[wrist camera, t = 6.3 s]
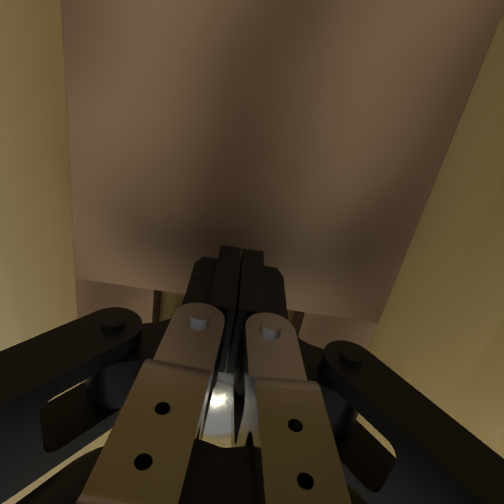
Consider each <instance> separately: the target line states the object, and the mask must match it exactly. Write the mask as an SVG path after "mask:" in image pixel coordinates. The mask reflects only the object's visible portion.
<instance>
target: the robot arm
mask: <svg viewBox="0 0 504 504" xmlns="http://www.w3.org/2000/svg"><path fill="white" fill-rule="evenodd" d="M240 257H241V260H240ZM228 350H229V352H228ZM227 355H228V363H227V373H230V374H234V383H233V388H232V393H231V448H222V447H218V446H216V445H213V444H210V443H208V442H205V441H203V440H202V438H203V434H204V429H205V425H206V421H207V416H208V412H209V408H210V403H211V399H212V394H213V389H214V387H215V386H216V384H217V379H218V373H219V372H222V373H224V371H225V366H226V360H227ZM85 379H86V382H84V383H82V384H80V385H78V386H77V387H75V388H73V389H71V390H69V391H68V392H66V393H64V394H62V395H60V396H59V397H57V398H55V399H53V400H51V401H50V402H48V401H49V400H50V399H52V398H53V397H55V396H56V395H58V394H60V393H62V392H64V391H65V390H67V389H69V388H71V387H73V386H75V385H76V384H78V383H80V382H82V381H84V380H85ZM47 402H48V403H47ZM359 413H360V414H361V415H362V416H363V417H364V418H365V419H366V420H367V421H368V422H369V423H370V424H371V425H372V426H373V427H374V428H375V429H376V430H378V431H379V432H380V433H381V434H382V435H383V436H384V437H385V438H386V439H387V440H388V441H389V442H390V443H391V445H392V446H393V448H394V450H395V453H396V458H395V457H394V456H393V455H392V454H391V453H390V452H389V451H388V450H387V449H386V448H385V447H384V446H383V445H382V444H381V443H380V442H379V441H378V440H377V439H376V438H375V437H374V436H372V435H371V434H370V433H369V432H368V431H367V430H366V429H365V428H364V427H363V426H362V425H361V424H360V423H359V422H358V421H357V420H356V418H357V416H358V414H359ZM111 428H112V430H111V432H110V434H109V436H108V438H107V440H106V443H105V445H104V446H103V447H100V448H97V449H95V450H93V451H91V452H88V453H86V454H84V455H83V456H81V457H79V458H78V459H76V460H74V461H73V462H71V463H70V464H68V465H67V466H66V467H64V468H63V469H62V470H60V471H59V472H58V473H56V474H55V475H53V476H52V477H51V478H49V479H48V480H47V481H45V482H44V483H43V484H41V485H40V486H39V487H37V488H36V489H35V490H33V491H32V492H30V493H29V494H28V495H26V496H25V497H24V498H22V499H21V500H20V501H18V502H17V503H16V504H504V459H503V458H502V457H501V456H499V455H498V454H497V453H496V452H494V451H493V450H492V449H491V448H489V447H488V446H487V445H486V444H484V443H483V442H482V441H481V440H479V439H478V438H477V437H476V436H474V435H473V434H472V433H471V432H469V431H468V430H467V429H466V428H464V427H463V426H462V425H460V424H459V423H458V422H457V421H455V420H454V419H453V418H452V417H450V416H449V415H448V414H447V413H445V412H444V411H443V410H442V409H440V408H439V407H438V406H437V405H435V404H434V403H433V402H432V401H430V400H429V399H428V398H427V397H425V396H424V395H423V394H422V393H420V392H419V391H418V390H417V389H415V388H414V387H413V386H412V385H410V384H409V383H408V382H406V381H405V380H404V379H403V378H401V377H400V376H399V375H398V374H396V373H395V372H394V371H393V370H391V369H390V368H389V367H388V366H386V365H385V364H384V363H383V362H381V361H380V360H379V359H378V358H376V357H375V356H374V355H373V354H371V353H370V352H369V351H368V350H366V349H365V348H363V347H362V346H360V345H358V344H356V343H353V342H350V341H345V340H336V341H332V342H330V343H328V344H327V345H326V347H325V349H321V348H319V347H316V346H314V345H311V344H309V343H306V342H305V341H303V340H301V339H300V338H298V337H297V335H296V331H295V328H294V326H293V325H292V324H291V323H290V322H289V321H288V314H287V304H286V295H285V287H284V277H283V275H282V274H281V273H280V271H279V270H278V269H277V268H276V267H270V266H264V251H258V250H252V249H245V248H243V250H242V255H241V248H238V247H232V246H226V245H220V250H219V255H218V258H211V257H205V256H203V257H201V258H200V259H199V260H198V261H196V262H195V263H194V267H193V270H192V273H191V277H190V281H189V283H188V287H187V290H186V294H185V297H184V300H183V304H182V306H180V307H179V308H177V309H176V310H175V312H174V314H173V316H172V318H170V319H167V320H165V321H160V322H153V323H142V320H141V318H140V316H139V315H138V314H137V313H135V312H134V311H132V310H130V309H126V308H121V307H110V308H104V309H100V310H98V311H95V312H93V313H90V314H88V315H86V316H83V317H81V318H79V319H76V320H74V321H71V322H69V323H67V324H64V325H62V326H60V327H57V328H55V329H52V330H50V331H48V332H45V333H43V334H41V335H38V336H36V337H33V338H31V339H29V340H26V341H24V342H22V343H19V344H17V345H14V346H12V347H10V348H7V349H5V350H3V351H0V504H2V503H3V502H5V501H6V500H8V499H9V498H11V497H12V496H14V495H15V494H16V493H18V492H19V491H21V490H22V489H24V488H25V487H27V486H28V485H30V484H31V483H32V482H34V481H35V480H37V479H38V478H40V477H41V476H43V475H44V474H46V473H47V472H49V471H50V470H51V469H53V468H54V467H56V466H57V465H59V464H60V463H62V462H63V461H65V460H66V459H68V458H69V457H70V456H72V455H73V454H75V453H76V452H78V451H79V450H81V449H82V448H84V447H85V446H86V445H88V444H89V443H91V442H92V441H94V440H95V439H97V438H98V437H100V436H101V435H103V434H104V433H105V432H107V431H108V430H110V429H111Z"/></svg>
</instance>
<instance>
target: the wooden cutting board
mask: <svg viewBox="0 0 504 504" xmlns="http://www.w3.org/2000/svg"><path fill="white" fill-rule="evenodd" d="M61 7H62V26H63V46H64V65H65V85H66V104H67V124H68V143H69V162H70V182H71V201H72V221H73V240H74V260H75V279H76V299H77V318H78V319H79V318H81V317H83V316H86V315H88V314H90V313H93V312H95V311H98V310H100V309H104V308H110V307H121V308H126V309H130V310H132V311H134V312H135V313H137V314H138V315H139V316H140V318H141V320H142V323H153V322H159V311H160V297H161V291H165V292H171V293H178V294H186V290H187V287H188V283H189V281H190V277H191V273H192V270H193V267H194V263H195V262H196V261H198V260H199V259H200V258H201V257H203V256H205V257H211V258H218V255H219V250H220V245H226V246H232V247H238V248H241V255H242V250H243V248H245V249H252V250H258V251H264V266H270V267H276V268H277V269H278V270H279V271H280V273H281V274H282V275H283V277H284V287H285V295H286V304H287V310H293V311H296V313H295V316H294V320H293V324H292V325H293V326H294V328H295V331H296V335H297V337H298V338H300V339H301V340H303V341H305V342H306V343H309V344H311V345H314V346H316V347H319V348H321V349H325V347H326V345H327V344H328V343H330V342H332V341H336V340H345V341H350V342H353V343H356V344H358V345H360V346H362V347H363V348H365V349H366V350H367V349H368V346H369V344H370V341H371V339H372V336H373V334H374V331H375V329H376V326H377V324H378V321H379V319H380V316H381V314H382V311H383V309H384V306H385V304H386V301H387V299H388V297H389V294H390V292H391V289H392V287H393V284H394V282H395V279H396V277H397V274H398V272H399V269H400V267H401V264H402V262H403V259H404V257H405V254H406V252H407V249H408V247H409V244H410V242H411V239H412V237H413V235H414V232H415V230H416V227H417V225H418V222H419V220H420V217H421V215H422V212H423V210H424V207H425V205H426V202H427V200H428V197H429V195H430V192H431V190H432V187H433V185H434V182H435V180H436V177H437V175H438V173H439V170H440V168H441V165H442V163H443V160H444V158H445V155H446V153H447V150H448V148H449V145H450V143H451V140H452V138H453V135H454V133H455V130H456V128H457V125H458V123H459V120H460V118H461V115H462V113H463V111H464V108H465V106H466V103H467V101H468V98H469V96H470V93H471V91H472V88H473V86H474V83H475V81H476V78H477V76H478V73H479V71H480V68H481V66H482V63H483V61H484V58H485V56H486V53H487V51H488V49H489V46H490V44H491V41H492V39H493V36H494V34H495V31H496V29H497V26H498V24H499V21H500V19H501V16H502V14H503V11H504V0H61ZM240 260H241V257H240ZM84 382H86V379H85V380H84V381H82V382H81V384H82V383H84Z"/></svg>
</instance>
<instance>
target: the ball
mask: <svg viewBox="0 0 504 504" xmlns="http://www.w3.org/2000/svg"><path fill="white" fill-rule="evenodd" d="M228 352H229V350H228ZM227 363H228V355H227V360H226V366H225V371H224V373H222V372H219V373H218V379H217V384H216V386H215V387H214V389H213V394H212V399H211V403H210V408H209V412H208V416H207V421H206V425H205V429H204V434H203V437H208V438H225V437H231V393H232V388H233V383H234V374H230V373H227Z"/></svg>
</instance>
